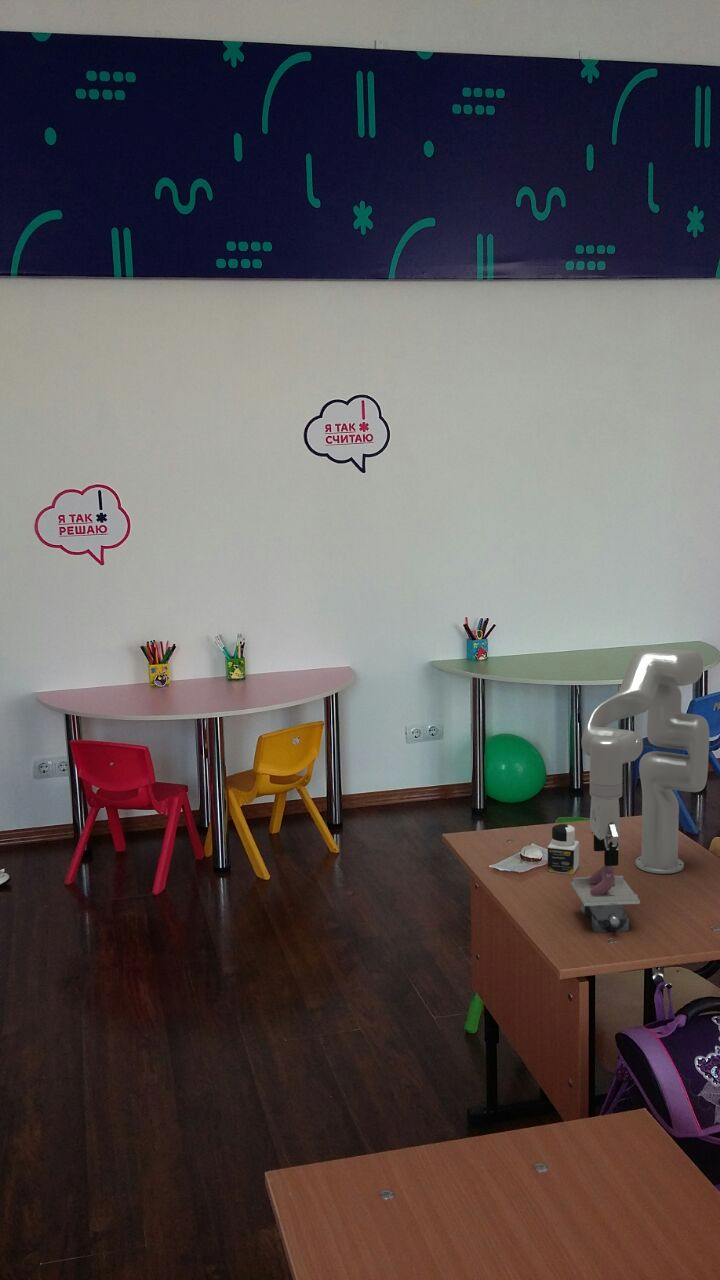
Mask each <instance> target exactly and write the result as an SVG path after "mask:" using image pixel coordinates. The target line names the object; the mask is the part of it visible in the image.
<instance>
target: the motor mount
mask: <svg viewBox="0 0 720 1280" xmlns="http://www.w3.org/2000/svg"><path fill="white" fill-rule="evenodd" d="M590 877H591V876H584V877H583V876H582V877H573V881H571V882H570V883H571V887H572V888H573V890H574V891H575V893H576V894H577V897H578V898H579V900H580V901H581V908H580V909H581V912H582V914H583V915H584V916H591V929H592V930H593V932H594V933H610V932H609V931H617V932H629V930H630V918H629V916H628V915H627V911H626V909H625V908H624V906H623V905H640V903H641V900H640V898H639V897H638V894H637V893H635V892H634V891H633V889H632V888H631V886H629V884H628V883H627V881H626V880H624V875H614V877H615V881H614V883H616V885H615V887H613V886H612V888H611V889H610V890H608V891H607V893H606V894H603V895H599V896H591V894H590V891H591V889H592V888H593V887H594V886H596V885H597V884H598V883H597V884H592V883H591V882H590Z"/></svg>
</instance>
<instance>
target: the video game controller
mask: <svg viewBox="0 0 720 1280" xmlns="http://www.w3.org/2000/svg"><path fill="white" fill-rule="evenodd" d="M614 876H615V868H614V866H605V865H604V866H602V867H601V868H600V869H599V870H597V871H596V872H594V873H593V874H591V876H589V877H590V882H591V883H592V884H597V883H598V884H597V885H596V886H594V887H593V888H592V889H591V891H590V894H591V896H599V895H603V894H606V893H607V891H608V890H610V889H611V888H612V886H613V887H615V885H616V883H614V881H615V877H614Z"/></svg>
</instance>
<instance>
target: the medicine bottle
mask: <svg viewBox="0 0 720 1280" xmlns="http://www.w3.org/2000/svg"><path fill="white" fill-rule="evenodd" d="M550 841H551V842H550V843H549V844H548V846H547V871H549V872H550V873H556V874H557V873H559V874H565V875H574V874H575V873H576V871H577V869H578V868H579V865H580V841H578V840H576V828H575V827H574V826H573V825H570V824H565V823H560V824H555V825H554V826H552V828H551V840H550Z"/></svg>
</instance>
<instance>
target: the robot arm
mask: <svg viewBox="0 0 720 1280" xmlns="http://www.w3.org/2000/svg"><path fill="white" fill-rule="evenodd" d="M629 661H630V662H629V664H628V667H627V669H626V672H625V674H624V677H623V680H622V682H621V684H620V687H619V690H618V692H617V693H615V694H614V695H612V696H611V697H609V698H607V699H606V700H604V701H602V702H601V703H600V704H599V705H597V707H595V708H594V709H593V710H592V712H591V713H590V715H589V716H588V719H587V722H586V724H585V727H584V729H583V733H582V737H581V749H582V750H583V753H584V754H585V755H586V756H588V757H589V795H590V812H589V813H590V814H589V828H590V830H591V831H592V833H593V834H594V835H593V851H594V852H603V854H604V855H603V859H604V860H603V863H604V866H612V867H617V866H619V849H620V848H619V838H620V836H621V835H620V833H621V832H620V831H621V821H620V818H621V817H620V813H621V812H620V798H621V797H622V796H623V765H624V764H627V763H631V762H633V761H636V760H637V759H638V758H639V757H640V756H641V754H642V753H643V751H644V740H643V737H642V735H640V733H638V732H636V731H634V730H630V729H621V728H614V727H608V726H609V725H610V724H612V723H615V722H616V721H619V720H623V719H626V718H630V717H634V716H638V715H640V714H642V713H646V712H647V722H646V723H647V726H646V729H647V730H646V735H647V740H648V742H649V743H650V744H651V745H653V746H656V747H660V748H668V749H675V750H684V751H686V752H687V754H682V753H675V752H666V751H659V750H657V751H650V752H646V753H644V754H643V755H642V756H641V758H640V759H639V763H638V771H639V778H640V785H641V796H642V797H641V800H642V801H641V802H642V803H641V804H642V805H641V807H642V808H641V816H642V817H641V855H640V856H638V857H637V858H635V866H636V868H638V869H639V870H641V871H644V872H647V873H651V874H659V875H660V874H661V875H667V874H668V875H669V874H676V873H679V872H681V871H683V870H684V868H685V867H684V865H685V863H684V861H683V860H681V859H680V858H679V824H680V823H679V820H680V818H679V817H680V816H679V815H680V804H679V801H678V798H677V796H676V793H674V791H673V790H675V791H682V792H690V793H691V792H692V793H699V792H701V791H703V790H704V789H705V787H706V785H707V781H708V780H707V779H708V770H709V751H710V728H709V727H710V726H709V723H708V720H707V719H706V718H705V717H704V716H702V715H699V714H695V713H694V714H692V713H686V712H683V711H682V695H683V694H682V692H681V689H680V687H684V686H685V687H686V686H689V685H693V684H695V683H696V682H698V681H699V680H700V679H701V677H702V675H703V671H704V660H703V658H702V655H701V654H700V652H698V651H696V650H691V649H678V648H667V647H645V648H644V647H643V648H641V649H638V650H637V652H635V654H633V655H632V657H631V659H630V660H629Z"/></svg>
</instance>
